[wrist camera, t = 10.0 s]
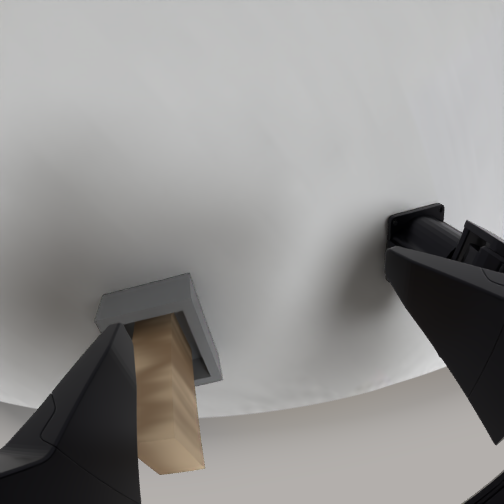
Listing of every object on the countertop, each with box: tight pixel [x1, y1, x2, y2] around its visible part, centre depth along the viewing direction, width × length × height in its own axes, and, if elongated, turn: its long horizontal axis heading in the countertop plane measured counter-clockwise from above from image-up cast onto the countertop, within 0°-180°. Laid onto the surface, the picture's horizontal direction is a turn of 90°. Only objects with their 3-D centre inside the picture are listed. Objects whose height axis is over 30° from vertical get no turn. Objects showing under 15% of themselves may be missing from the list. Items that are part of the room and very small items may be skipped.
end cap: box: [95, 273, 223, 386], centre depth 22 cm, size 7×9×3 cm
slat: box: [132, 313, 205, 475], centre depth 18 cm, size 3×4×11 cm, turn 13°
